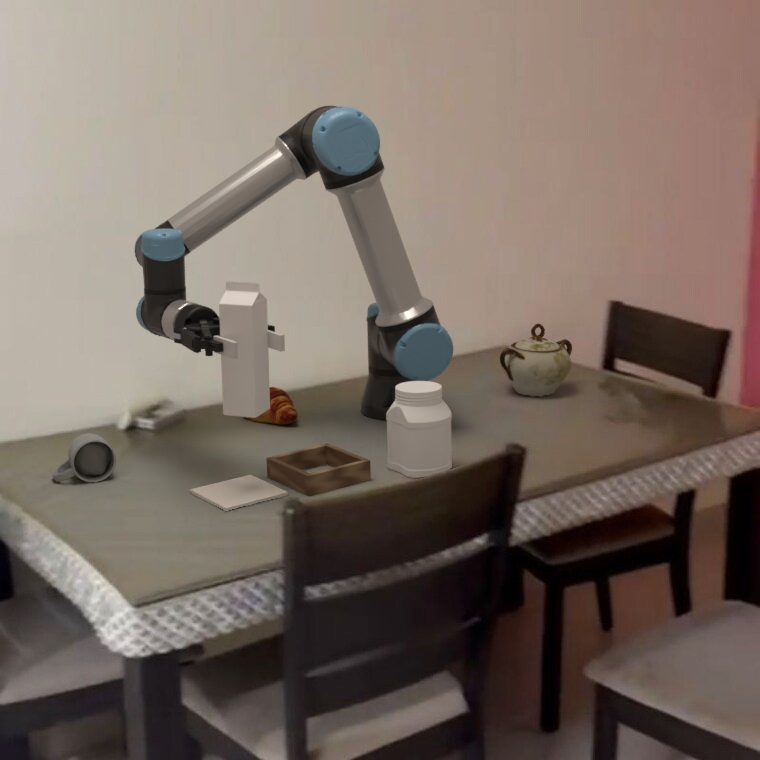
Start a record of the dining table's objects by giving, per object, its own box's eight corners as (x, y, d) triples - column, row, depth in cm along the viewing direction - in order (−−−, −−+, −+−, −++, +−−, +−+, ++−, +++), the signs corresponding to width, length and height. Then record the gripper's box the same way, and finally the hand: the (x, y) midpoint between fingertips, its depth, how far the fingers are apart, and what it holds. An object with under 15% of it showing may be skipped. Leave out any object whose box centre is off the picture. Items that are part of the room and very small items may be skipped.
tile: (250, 477, 219) (250, 474, 219) (288, 495, 210) (287, 492, 210) (190, 492, 212) (189, 489, 212) (226, 511, 203) (225, 508, 203)
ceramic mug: (109, 466, 227) (105, 425, 225) (118, 479, 220) (114, 437, 218) (49, 475, 224) (45, 434, 222) (57, 489, 216) (52, 446, 214)
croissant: (231, 424, 265) (213, 395, 261) (265, 395, 269) (248, 366, 265) (285, 445, 248) (267, 414, 244) (321, 414, 252) (304, 383, 248)
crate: (327, 461, 227) (327, 443, 226) (370, 479, 217) (370, 460, 216) (267, 476, 220) (266, 457, 219) (308, 496, 210) (308, 476, 209)
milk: (238, 406, 213) (233, 278, 208) (270, 409, 211) (267, 279, 206) (222, 415, 207) (217, 284, 202) (256, 418, 206) (251, 285, 200)
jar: (379, 465, 225) (377, 384, 221) (421, 455, 230) (420, 376, 226) (417, 481, 216) (416, 397, 212) (460, 470, 221) (460, 388, 217)
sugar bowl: (548, 378, 283) (549, 313, 279) (593, 391, 271) (595, 323, 267) (478, 391, 273) (478, 324, 269) (522, 406, 261) (523, 336, 257)
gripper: (244, 337, 227) (313, 360, 210) (138, 353, 215) (203, 379, 198) (242, 296, 226) (312, 316, 208) (136, 310, 213) (201, 332, 196)
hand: (259, 346), depth 203 cm, fingers closed on milk, 8 cm apart
